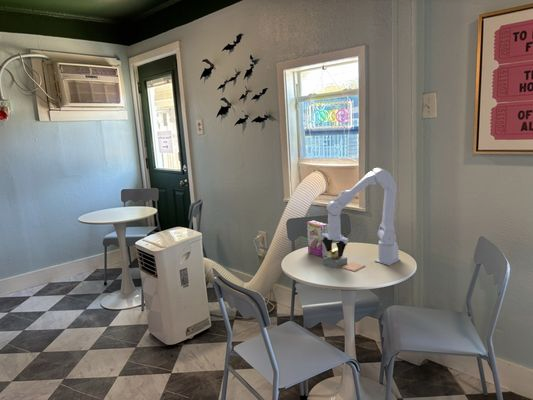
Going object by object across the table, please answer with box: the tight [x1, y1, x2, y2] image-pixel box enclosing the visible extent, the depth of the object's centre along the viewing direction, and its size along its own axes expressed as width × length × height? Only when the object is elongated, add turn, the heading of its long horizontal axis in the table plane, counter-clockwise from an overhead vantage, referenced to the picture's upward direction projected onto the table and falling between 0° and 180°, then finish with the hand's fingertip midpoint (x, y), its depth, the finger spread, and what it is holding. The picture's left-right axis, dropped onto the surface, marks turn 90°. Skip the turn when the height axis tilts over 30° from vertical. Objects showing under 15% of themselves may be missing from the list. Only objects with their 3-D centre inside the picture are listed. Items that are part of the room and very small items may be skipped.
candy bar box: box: [306, 220, 328, 258], centre depth 196 cm, size 11×5×16 cm, turn 34°
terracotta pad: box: [341, 261, 366, 273], centre depth 177 cm, size 8×7×1 cm
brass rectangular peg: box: [327, 247, 339, 260], centre depth 182 cm, size 8×2×7 cm, turn 131°
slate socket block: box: [322, 255, 348, 269], centre depth 183 cm, size 8×8×3 cm
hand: (334, 254), depth 182 cm, fingers open, 6 cm apart
